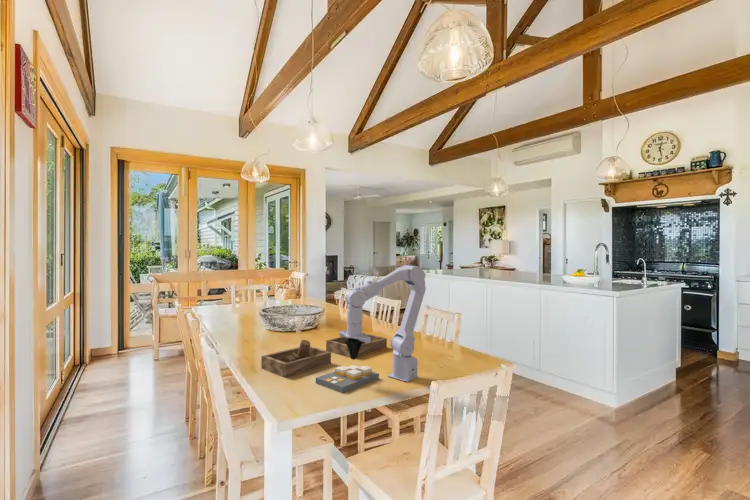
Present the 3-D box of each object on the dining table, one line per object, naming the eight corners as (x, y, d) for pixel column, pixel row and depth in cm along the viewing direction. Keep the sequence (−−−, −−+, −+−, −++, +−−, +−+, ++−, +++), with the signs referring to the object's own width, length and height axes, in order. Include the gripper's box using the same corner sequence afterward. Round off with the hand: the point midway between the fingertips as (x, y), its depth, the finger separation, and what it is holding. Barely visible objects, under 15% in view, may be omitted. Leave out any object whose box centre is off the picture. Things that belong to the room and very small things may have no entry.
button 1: (371, 374, 154) (371, 367, 154) (364, 376, 151) (364, 370, 151) (363, 371, 157) (364, 365, 157) (357, 374, 154) (357, 367, 154)
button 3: (360, 373, 158) (360, 367, 158) (353, 375, 155) (353, 369, 155) (352, 370, 161) (352, 364, 161) (345, 373, 158) (345, 367, 158)
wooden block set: (288, 379, 158) (295, 358, 155) (275, 366, 163) (281, 345, 160) (321, 366, 173) (327, 347, 170) (308, 355, 177) (314, 336, 174)
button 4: (349, 374, 154) (349, 368, 153) (342, 377, 150) (342, 370, 150) (342, 372, 156) (342, 365, 156) (334, 374, 153) (335, 368, 153)
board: (378, 378, 154) (378, 372, 154) (342, 393, 139) (342, 386, 139) (352, 370, 164) (352, 365, 163) (315, 383, 148) (315, 377, 148)
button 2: (361, 378, 150) (361, 371, 150) (353, 380, 147) (353, 374, 147) (353, 375, 152) (353, 369, 152) (346, 378, 149) (346, 371, 149)
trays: (386, 348, 198) (386, 338, 198) (288, 378, 152) (288, 365, 152) (359, 341, 210) (360, 332, 210) (261, 368, 164) (261, 356, 164)
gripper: (333, 321, 151) (332, 356, 151) (361, 327, 141) (361, 365, 141) (346, 318, 156) (345, 353, 156) (374, 324, 147) (373, 360, 147)
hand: (353, 358), depth 149 cm, fingers closed
